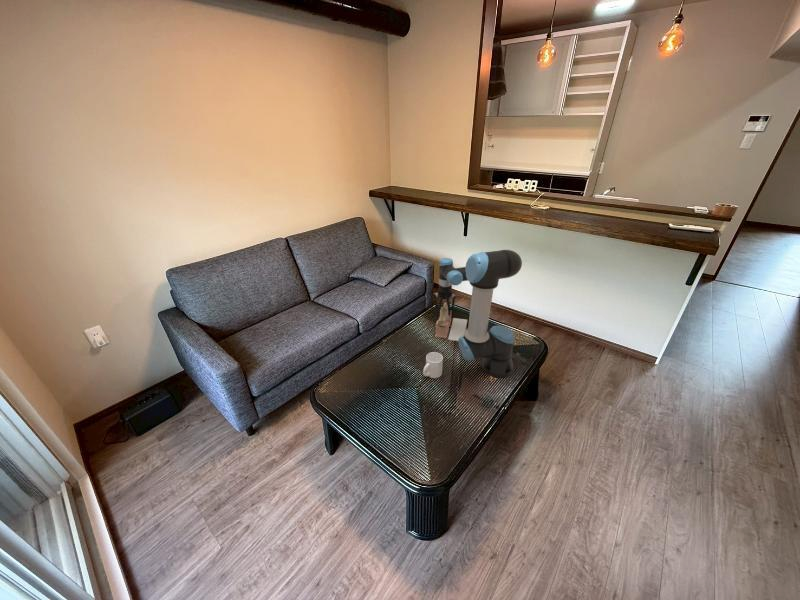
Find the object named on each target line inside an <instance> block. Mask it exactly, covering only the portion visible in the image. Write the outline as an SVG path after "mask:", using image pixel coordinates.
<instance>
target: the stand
mask: <svg viewBox="0 0 800 600" xmlns="http://www.w3.org/2000/svg"><path fill="white" fill-rule="evenodd" d="M441 308H443V306H441ZM438 320H439V319H438ZM438 320H436V323H435V334H434V336H435V338H442V339H448V336H449V332H450V328H451V325H452V321H453V318H452V313H451V314H450V315H449V319H448V321H447V319H446V322H445V326H438ZM449 327H450V328H449Z"/></svg>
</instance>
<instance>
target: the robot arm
mask: <svg viewBox="0 0 800 600" xmlns="http://www.w3.org/2000/svg"><path fill="white" fill-rule="evenodd" d="M522 266H523V260H522V258H521V255H520V254H519V253H517V252H516V251H514V250H511V249H502V250H492V251H481V252H478V253H473V254H470V256H469V257H468V259H467V261H466V263H465V266H462V267H461V266H460V267H454V261H453V259H452V258H450V257H442V258H440V259H439V263H438V291H437V292H433V293H434V294H433V297H434V308H435V310H437V312H438V313H437V315H440V314H441V311H442V308H441V307H442V304H443V300H445V301H446V303H447V306H448V310H447V321H448V319H449V315H450V314H451V315H452V312H453V311H454V309H455V301H456V299H457V294H456V293H455V294H454V293H453V292H452V291H453V290H452V289H453V286H459V285H461V283H463V282H466V281H468V283H469V284H470V286H471V287H472V292H471V300H470V307H469V316H468V318H469V319H468V323H467V324H468V326H467V328H466V330H465V332H464V337H460V338H459V340H458V341H457V342H458V347H459V351H460V354H461V355H462V357H463V358H464V359H465V361H475V360H476V361H477V360H480V359H481V360H482V363H481V368H482V370H483V371H484V373H486V374H487V375H489V376H490V377H493V378H498V379H502V378H503V379H505V378H508V377H510V376H511V375H512V374H513V372H514V371H513V370H514V364H513V360H512V357H513V349H514V345H515V341H516V340H515V339H516V338H515V333H514V332H513V330H511V329H510V328H508V327H506V326H502V325H493V326H491V328H490V329H489V331H488V328H489V319H490V314H491V313H490V312H491V308H492V307H491V306H492V301H493V295H494V290H495V289H496V288H498V286H499V282H500V280H503V279H507V278H511V277H514V276H515V275H517V274H518V273H519V272H520V271H521V269H522ZM438 296H439V298H440V299H439V300H438ZM451 298H452V302H450V299H451ZM438 301H439V302H438ZM438 303H439V304H438Z"/></svg>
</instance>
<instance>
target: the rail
mask: <svg viewBox="0 0 800 600" xmlns="http://www.w3.org/2000/svg"><path fill="white" fill-rule="evenodd" d="M442 307H443V308H442V311H441V314H439V317H438V326H445V322H446V319H447V310H448V306H447V302H444V303H443V306H442Z"/></svg>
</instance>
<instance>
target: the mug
mask: <svg viewBox="0 0 800 600" xmlns="http://www.w3.org/2000/svg"><path fill="white" fill-rule="evenodd" d="M443 361H444V356H443V355H442V354H441V353H440V352H436V351H432V352H428V353H426V357H425V365H424V366H423V371H422V374H423V376H424V377H429V378H431V379H439V378H440V377H441V376H442V374H443V369H444V368H443V363H444V362H443Z"/></svg>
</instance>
